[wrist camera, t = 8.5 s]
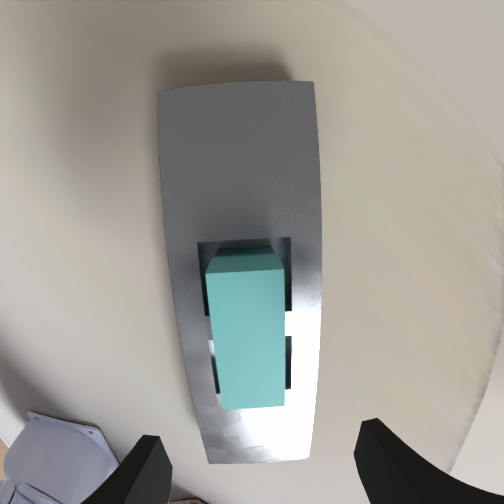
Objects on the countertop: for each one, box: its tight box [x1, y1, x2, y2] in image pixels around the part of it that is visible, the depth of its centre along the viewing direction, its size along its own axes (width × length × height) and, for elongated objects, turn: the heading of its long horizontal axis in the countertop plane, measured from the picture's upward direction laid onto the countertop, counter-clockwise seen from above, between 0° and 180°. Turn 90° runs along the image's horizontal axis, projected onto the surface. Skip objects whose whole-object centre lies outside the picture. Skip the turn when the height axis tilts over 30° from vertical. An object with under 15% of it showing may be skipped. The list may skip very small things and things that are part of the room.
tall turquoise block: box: [205, 246, 285, 410], centre depth 15 cm, size 7×3×5 cm, turn 3°
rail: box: [158, 81, 322, 464], centre depth 16 cm, size 7×24×3 cm, turn 3°
